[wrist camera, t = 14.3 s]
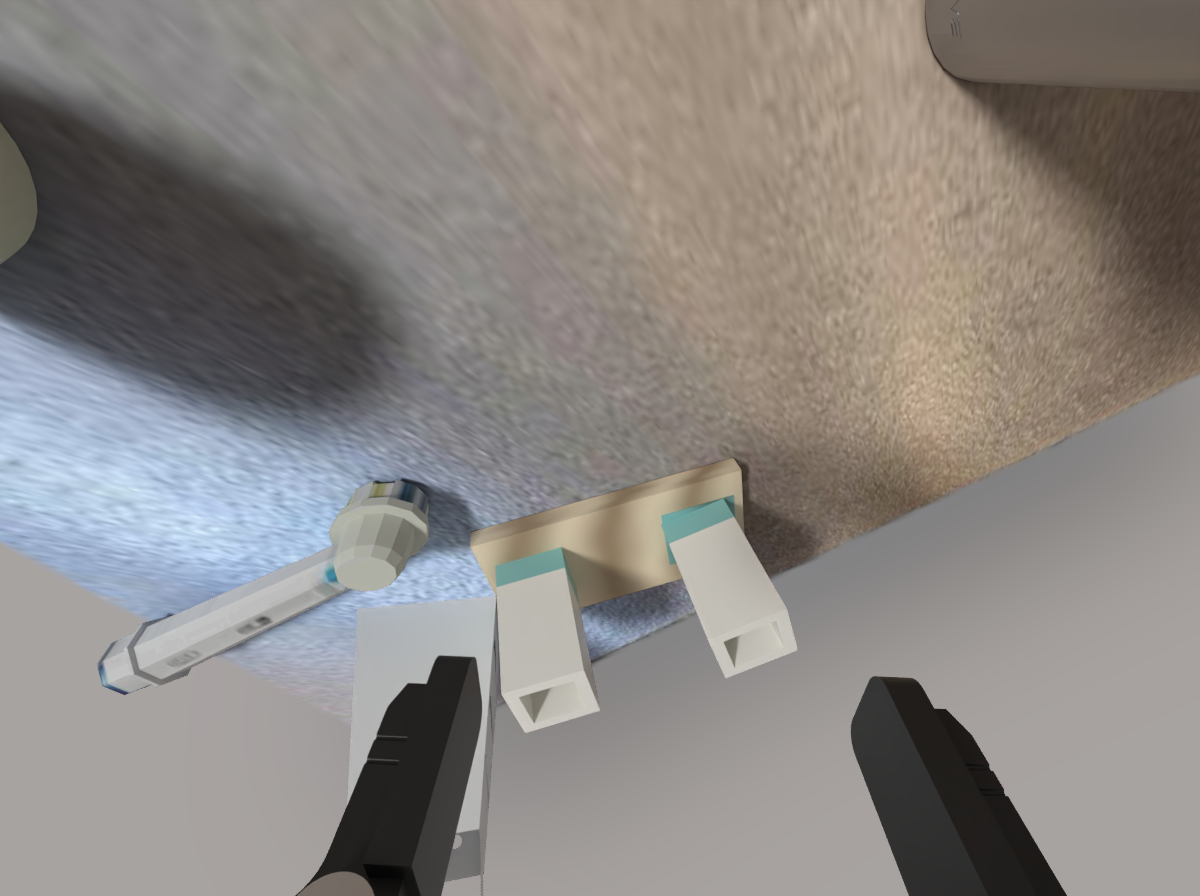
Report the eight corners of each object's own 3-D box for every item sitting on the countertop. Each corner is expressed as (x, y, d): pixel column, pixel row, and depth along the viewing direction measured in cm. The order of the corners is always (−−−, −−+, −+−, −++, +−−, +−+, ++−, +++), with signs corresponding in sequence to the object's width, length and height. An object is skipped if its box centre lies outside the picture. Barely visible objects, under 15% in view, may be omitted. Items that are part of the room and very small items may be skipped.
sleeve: (723, 498, 40) (786, 608, 32) (736, 539, 43) (797, 649, 35) (660, 524, 40) (707, 640, 32) (678, 563, 43) (725, 678, 35)
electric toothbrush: (70, 679, 35) (371, 544, 29) (132, 592, 40) (399, 462, 34) (147, 710, 38) (434, 594, 32) (196, 625, 43) (451, 512, 37)
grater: (498, 670, 49) (511, 960, 33) (378, 685, 47) (329, 1002, 31) (496, 595, 43) (510, 905, 28) (357, 608, 41) (285, 952, 25)
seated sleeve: (561, 547, 39) (583, 670, 31) (576, 588, 42) (600, 710, 34) (495, 565, 39) (501, 694, 31) (515, 606, 42) (525, 732, 34)
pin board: (733, 457, 40) (771, 515, 35) (738, 547, 46) (771, 606, 41) (470, 532, 39) (470, 602, 34) (511, 612, 45) (516, 682, 40)
